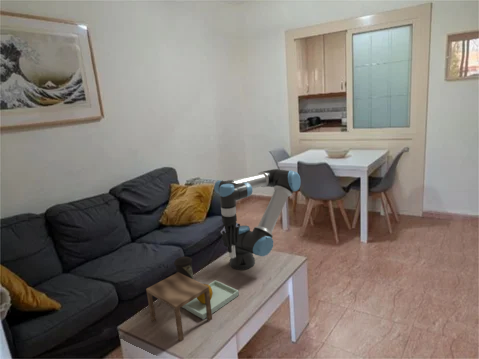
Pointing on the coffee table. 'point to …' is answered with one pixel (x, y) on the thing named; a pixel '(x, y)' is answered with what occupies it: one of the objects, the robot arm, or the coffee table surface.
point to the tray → (212, 299)
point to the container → (184, 266)
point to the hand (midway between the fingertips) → (232, 256)
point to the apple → (202, 296)
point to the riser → (178, 296)
